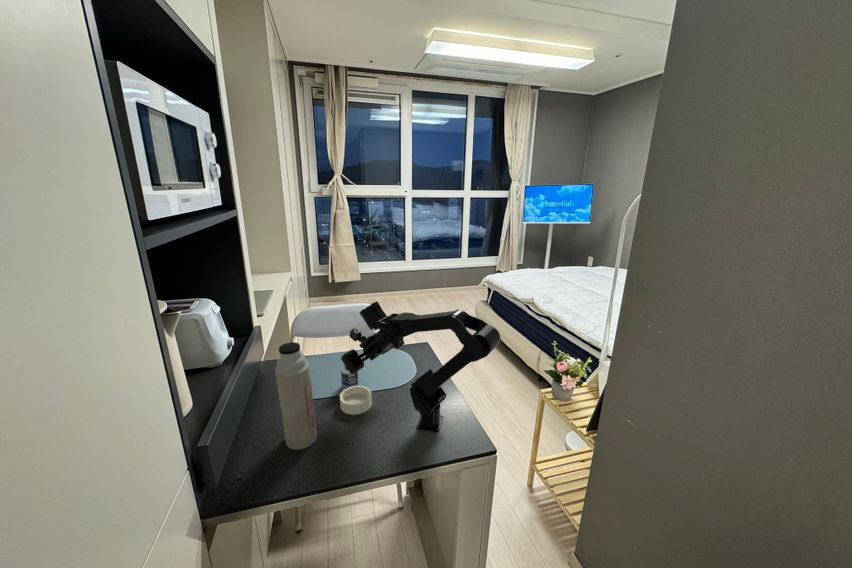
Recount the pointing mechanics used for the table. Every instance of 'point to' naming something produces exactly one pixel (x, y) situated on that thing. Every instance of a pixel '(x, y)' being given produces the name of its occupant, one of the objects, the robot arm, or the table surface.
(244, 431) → the table surface
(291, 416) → the thermos bottle
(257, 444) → the table surface
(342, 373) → the pill bottle
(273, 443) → the table surface
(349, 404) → the bowl
